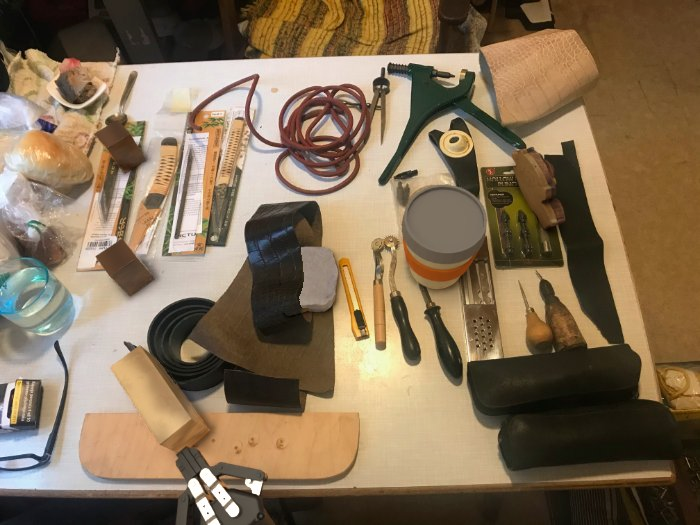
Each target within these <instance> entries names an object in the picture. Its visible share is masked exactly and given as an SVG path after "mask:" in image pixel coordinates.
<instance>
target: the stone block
mask: <svg viewBox="0 0 700 525" xmlns="http://www.w3.org/2000/svg"><path fill="white" fill-rule="evenodd" d="M301 255H302V261H303V272H304V282H303V288H302V291H301V294H300V296H299V299H300V300H299V301H300V305H301V307H302V308H309V309H312V310H309V312H314V313H321V312H323V313H324V312H327V311H328V310H329V309H331V307H332V306H333V304H334V302H335V299H336V294H337V293H336V292H337V285H338V278H339V268H338V265H337V263H336V260H335V256H334V253H333V251H332V250H331V249H330V248H328V247H325V246H302V247H301ZM309 312H308V313H309Z"/></svg>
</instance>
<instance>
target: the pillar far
mask: <svg viewBox="0 0 700 525" xmlns="http://www.w3.org/2000/svg"><path fill="white" fill-rule="evenodd" d="M94 136H95V137H96V138H97V140H98V141H99V142H100V144H101V145H102V147H103V148H104V149H105V151H106V153H107V154H108V155H109V157H110V158H111V160H112V161H113V162H114V163H115V165H116V166H117V167H118V168H119V170H120V171H122V173H123V174H124V175H126V174H128V173H130V172H131V171H133V170H134V169H136V168H138V167H139V166H140V165H142V164H144V163H145V162H147V159H146V157H145V155H144V154H143V152H142V150H141V149H140V147H139V146H138V143H137V142H136V141H135V139H134V137H133V136H132V134H131V132H129V131H128V129H126V127H125V126H124V125H123V124H122V122H120V121H119V119H116V120H115V121H113V122H112V123H109V124H108V125H106V126H104V127H103V128H101V129H100V130H98V131H96V132H94Z"/></svg>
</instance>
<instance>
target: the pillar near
mask: <svg viewBox="0 0 700 525" xmlns="http://www.w3.org/2000/svg"><path fill="white" fill-rule="evenodd" d="M95 258H96V260H97V261H98V263H99V264H100V265H101V267H102V268H103V269H104V271H105V272H106V273H107V275H108V276H109V278H110V279H112V280H113V281H114V282H115V284H116V285H117V286H119V288H121V290H123V291H124V292H125V293H126V294H127V295H128V296H129V297H132V296H133V295H135V294H136V293H138V292H139V291H140V290H142V289H143V288H145V287H146V286H149V284H151V283H152V282H154V281H155V280H156V278H155V277H154V275H153V274H152V273H151V272H150V270H149V269H148V267H147V266H146V265H145V264H144V262H143V261H142V259H141V258H139V256H138V255H137V254H136V253H135V252H134V251H133V249H132V248H131V247H130V246H129V245H128V243H127V242H126V241H125V240H124V239H123V238H121V239H119V240H117V241H116V242H115V243H113V244H111V245H110V246H109V247H107V248H106V249H103V250H102V251H101V252H100V253H98V254H96V255H95Z"/></svg>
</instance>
